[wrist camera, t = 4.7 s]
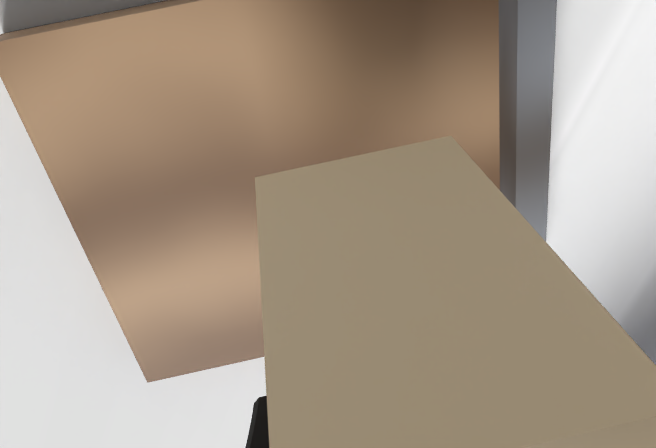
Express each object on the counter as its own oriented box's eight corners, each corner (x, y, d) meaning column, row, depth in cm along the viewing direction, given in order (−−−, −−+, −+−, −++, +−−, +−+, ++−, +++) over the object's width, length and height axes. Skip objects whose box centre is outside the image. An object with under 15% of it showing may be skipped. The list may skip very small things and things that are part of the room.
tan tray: (517, 277, 21) (546, 318, 19) (152, 358, 21) (142, 408, 19) (522, -71, 15) (565, -66, 13) (2, 34, 15) (-36, 56, 13)
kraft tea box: (451, 135, 11) (695, 407, 5) (464, 352, 14) (625, 680, 8) (254, 177, 11) (273, 505, 5) (310, 387, 14) (361, 746, 8)
